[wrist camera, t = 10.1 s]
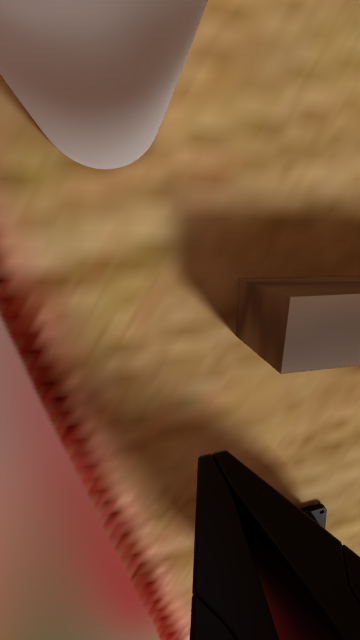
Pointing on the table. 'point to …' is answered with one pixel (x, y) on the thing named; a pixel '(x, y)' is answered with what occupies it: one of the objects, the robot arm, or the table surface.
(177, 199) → the table surface
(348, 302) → the walnut slat
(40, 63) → the can
